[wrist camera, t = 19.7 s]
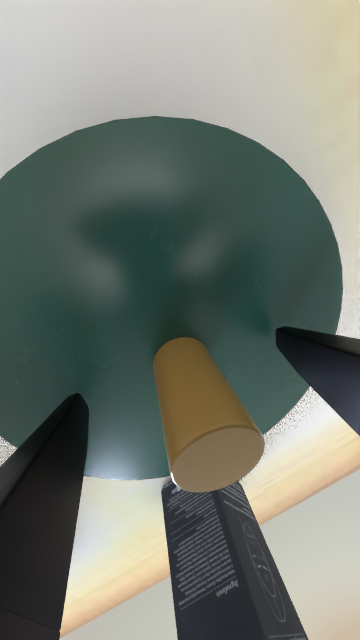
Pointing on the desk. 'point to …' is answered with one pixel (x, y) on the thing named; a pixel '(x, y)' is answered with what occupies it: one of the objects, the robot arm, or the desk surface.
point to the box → (224, 569)
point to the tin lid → (160, 295)
